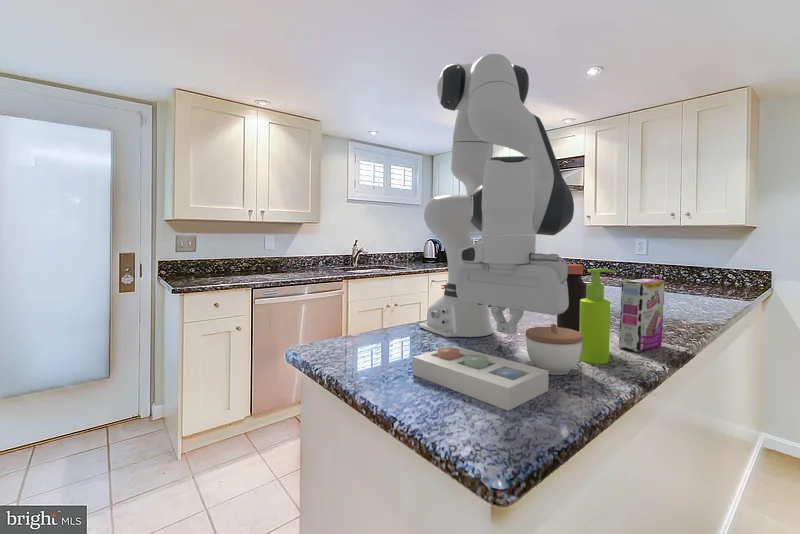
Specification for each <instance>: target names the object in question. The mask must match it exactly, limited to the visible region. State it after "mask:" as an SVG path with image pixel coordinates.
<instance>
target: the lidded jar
mask: <svg viewBox="0 0 800 534" xmlns="http://www.w3.org/2000/svg"><path fill="white" fill-rule="evenodd" d="M525 338H526V339H525V343H526V351H527V355H528V358H529V359H530V361H531V363H532V364H533V365H534V367H537V368H540V369H544V370H548V371H549V373H548V375H553V376H565V375H567V374H569V373H570V371H572V370H573V369H574V368H575V367H576V366H577V364H578V363H579V362H580V356H581V351H582V340H583V335H582V333H580V332H578V331H575V330H572V329H567V328H560V327H557V323H556V324H555V323H551V324H550V326H536V327H535V326H534V327H530V328H527V329H526V330H525Z"/></svg>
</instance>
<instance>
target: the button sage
mask: <svg viewBox="0 0 800 534" xmlns="http://www.w3.org/2000/svg"><path fill="white" fill-rule="evenodd" d="M464 366H468V367H471V368H474V369H478V370H480V369H483V368H486V367H488V366H489V358H488V357H486V356H483V355H467V356H465V357H464Z"/></svg>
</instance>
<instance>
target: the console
mask: <svg viewBox="0 0 800 534" xmlns="http://www.w3.org/2000/svg"><path fill="white" fill-rule="evenodd" d="M450 347H452V348H457V349H459V350H460V358H457V359H454V360H451V361H448V360H445V359H442V358H438V357H437V350H438V349H436V350H433V351H428V352H426V353H422V354H419V355H414V356H412V375H413V376H415V377H418V378H421V379H423V380H425V381H429V382H431V383H434V384H436V385H439V386H442V387H445V388H447V389H449V390H453V391H454V392H458V393H460V394H464V395H465V396H468V397H471V398H474V399H476V400H479V401H481V402H484V403H486V404H489V405H492V406H493V407H494V406H495V407H497V408H500V409H502V410H506V411H507V412H508V411H511V410H513V409H515V408H517V407H519V406H521V405H523V404H525V403H527V402H529V401H530V400H533V399H534V398H536V397H539V396H541V395H543V394H544V393H546V392H549V374H548V373H549V371H548V370H544V369H540V368H537V367H536V366H532V365H528V364H525V363H521V362H517V361H513V360H509V359H505V358H501V357H499V356H494V355H491V354H487V353H482V352H480V351H475V350H472V349H467V348H463V347H459V346H456V345H452V346H450ZM467 355H483V356H486V357H488V358H489V366H488V367H486V368H483V369H480V370H478V369H474V368H471V367H468V366H464V357H465V356H467ZM503 368H509V369H515V370H519V371H520V372H522V377H520V378H518V379H515V380H510V379H507V378H504V377H500V376H497V375H496V370H498V369H503Z"/></svg>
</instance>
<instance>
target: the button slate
mask: <svg viewBox="0 0 800 534" xmlns="http://www.w3.org/2000/svg"><path fill="white" fill-rule="evenodd" d="M496 375H497V376H500V377H504V378H507V379H510V380H515V379H518V378H520V377H522V372H520V371H519V370H515V369H509V368H503V369H498V370H496Z"/></svg>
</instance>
